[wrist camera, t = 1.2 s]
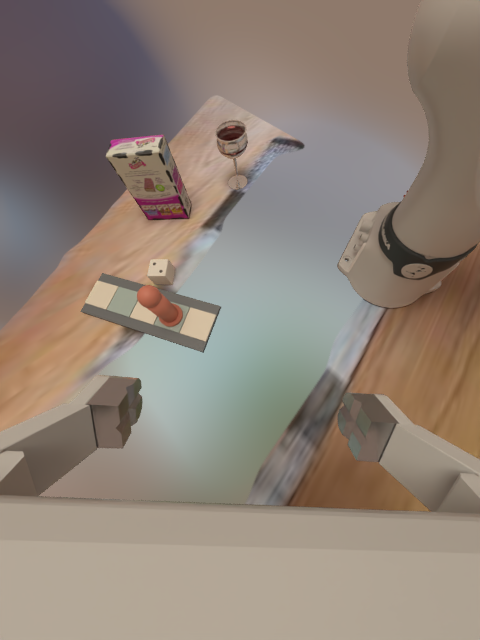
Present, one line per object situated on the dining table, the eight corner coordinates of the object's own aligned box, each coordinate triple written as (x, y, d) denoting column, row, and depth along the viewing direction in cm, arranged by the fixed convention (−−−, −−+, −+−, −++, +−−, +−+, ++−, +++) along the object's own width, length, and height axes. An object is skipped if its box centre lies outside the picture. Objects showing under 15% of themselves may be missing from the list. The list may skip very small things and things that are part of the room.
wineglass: (241, 168, 60) (235, 115, 49) (255, 183, 58) (253, 131, 46) (220, 180, 59) (208, 129, 48) (233, 196, 57) (224, 146, 46)
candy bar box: (192, 203, 58) (165, 132, 43) (189, 219, 56) (160, 151, 41) (151, 205, 60) (110, 137, 44) (147, 220, 58) (103, 156, 42)
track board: (104, 274, 54) (101, 272, 53) (220, 307, 48) (220, 305, 47) (83, 312, 51) (79, 310, 50) (203, 352, 45) (202, 351, 44)
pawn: (166, 302, 48) (137, 275, 38) (186, 308, 47) (162, 282, 37) (157, 323, 47) (124, 301, 36) (177, 329, 46) (149, 308, 35)
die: (159, 269, 53) (150, 259, 49) (175, 269, 52) (168, 259, 48) (155, 284, 51) (146, 275, 48) (172, 284, 51) (165, 275, 47)
